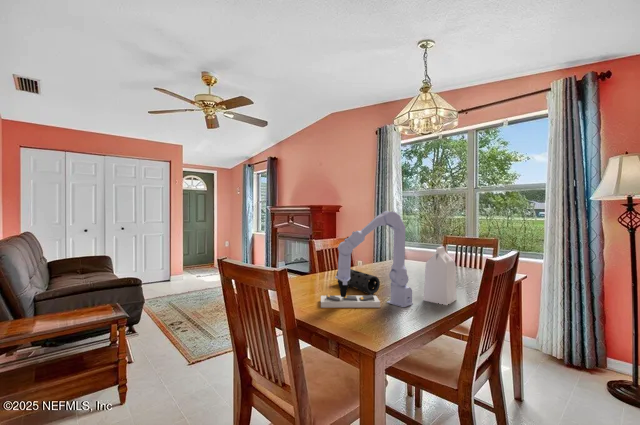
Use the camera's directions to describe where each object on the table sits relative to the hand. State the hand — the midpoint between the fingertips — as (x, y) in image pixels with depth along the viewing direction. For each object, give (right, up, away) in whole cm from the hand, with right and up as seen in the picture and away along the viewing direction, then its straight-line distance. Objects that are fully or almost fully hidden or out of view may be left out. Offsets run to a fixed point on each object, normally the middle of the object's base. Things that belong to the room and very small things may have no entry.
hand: (343, 296), depth 144 cm
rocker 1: (-5, -1, 0) cm, 5 cm away
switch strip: (+3, -4, +2) cm, 5 cm away
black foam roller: (+9, -4, +27) cm, 29 cm away
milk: (+48, -4, +8) cm, 49 cm away
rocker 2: (+11, -1, 0) cm, 11 cm away
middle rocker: (+3, -1, 0) cm, 3 cm away
